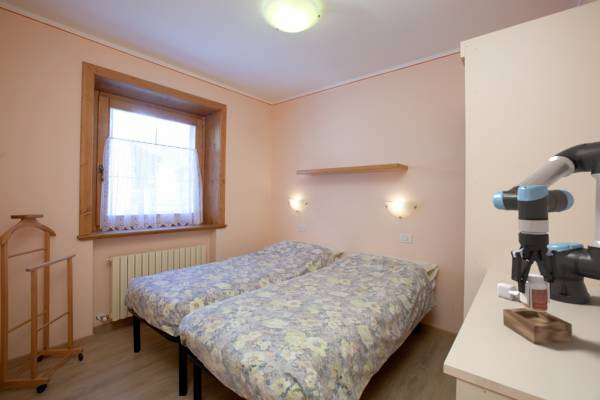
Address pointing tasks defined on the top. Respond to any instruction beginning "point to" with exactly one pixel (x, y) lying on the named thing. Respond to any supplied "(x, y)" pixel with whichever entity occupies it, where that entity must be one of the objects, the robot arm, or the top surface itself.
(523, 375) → the top surface
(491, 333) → the top surface
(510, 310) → the wooden box
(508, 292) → the power adapter
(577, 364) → the top surface
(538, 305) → the pill bottle
